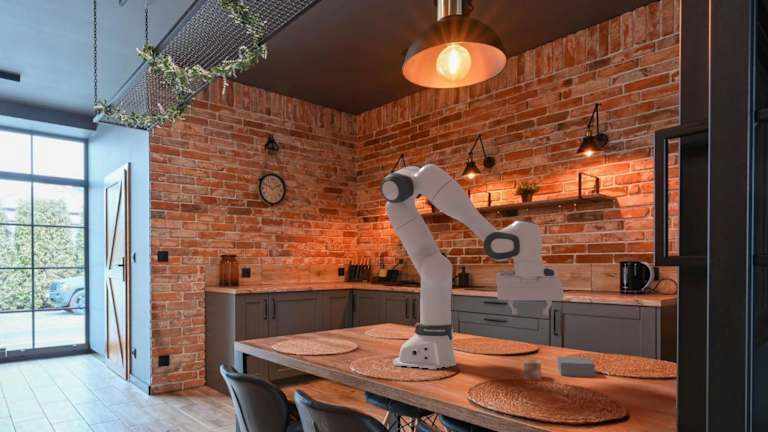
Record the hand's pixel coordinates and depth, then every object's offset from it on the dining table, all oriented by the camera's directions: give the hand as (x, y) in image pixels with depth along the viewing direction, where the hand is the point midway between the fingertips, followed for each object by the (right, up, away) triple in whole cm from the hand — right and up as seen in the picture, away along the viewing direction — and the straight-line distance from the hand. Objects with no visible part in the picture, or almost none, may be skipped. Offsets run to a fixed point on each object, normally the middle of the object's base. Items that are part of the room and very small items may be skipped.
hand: (530, 314), depth 154 cm
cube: (0, -19, -2) cm, 19 cm away
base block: (+16, -20, +4) cm, 25 cm away
